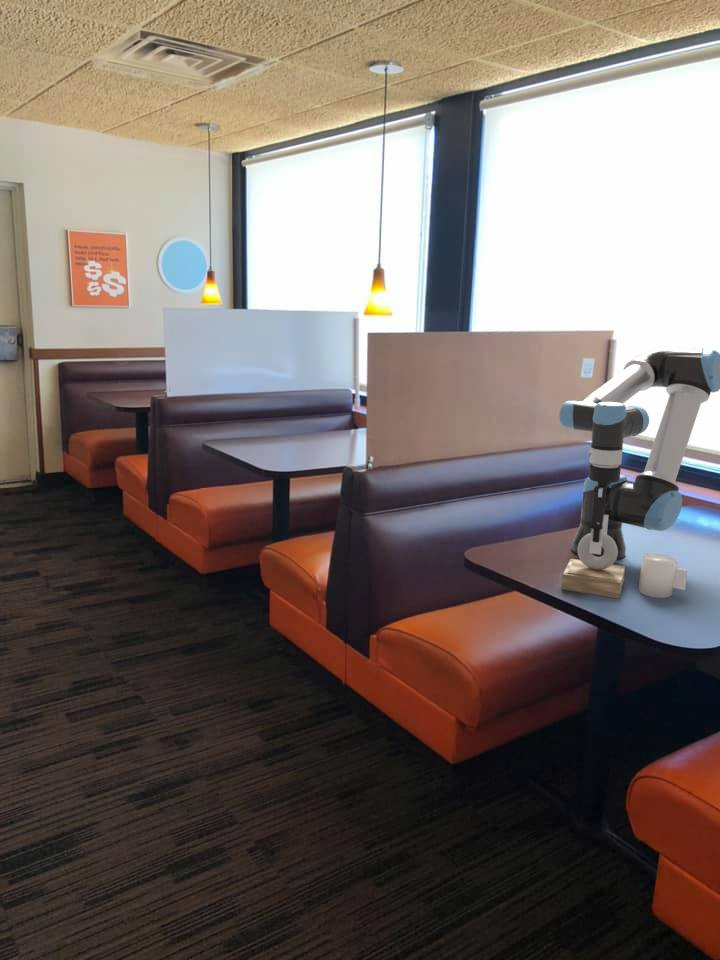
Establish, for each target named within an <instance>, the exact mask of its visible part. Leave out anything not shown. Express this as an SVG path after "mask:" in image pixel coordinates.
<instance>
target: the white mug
mask: <svg viewBox="0 0 720 960" xmlns="http://www.w3.org/2000/svg"><path fill="white" fill-rule="evenodd" d="M676 566H677V559H676V558H674V557H672V556H670V555H668V554H662V553H655V552H654V553H645V554H643V555H642V557H641V565H640V573H639V583H638V592H639V593H641V594H642V595H644V596H647V597H651V598H657V599H667V598H666V597H668V598H670V596H671V597H672V596H673V591H674V589H675V590H676V589H677V590H682V591H686V587H687V586H686V585H687V579H688V569H687V568H686V569H685V568H680V567H679V568H678V567H676Z"/></svg>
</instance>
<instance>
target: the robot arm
mask: <svg viewBox="0 0 720 960" xmlns="http://www.w3.org/2000/svg"><path fill="white" fill-rule="evenodd" d="M652 387H653V388H654V387H655V388H656V387H657V388H660V387H661V388H662V387H663V388H665V390H666V393H667V394H668V399H667V403H666V405H665V408H664V412H663V414H662V418H661V420H660V422H659V423H660V424H659V426H658V430H657V432H656V435H655V437H654V441H653V444H652V447H651V450H650V453H649V457H648V459H647V462H646V465H645V468H644V471H643V472H641V473H638V474H636V477H635V480H634V482H628V478H627V476H626V475H623V474H621V469H622V467H621V465H622V461H623V459H622V458H623V449H624V448H623V446H624V439H626V438H629V437H636V436H638V435H640V434H642V433H644V432H645V431H646V430H647V428H648V427H649V424H650V418H649V414H648V412H647V411H646V409H644V408H643V407H641V406H637V405H629V406H626V405H625V404H624V403H626V402H628V400H630V399H631V398H632V397H633V396H635V395H636V394H638V393H639V392H643V391H647V390H648V389H650V388H652ZM719 391H720V352H719V351H717V350H714V349H707V348H706V349H705V348H689V347H687V348H685V347H672V346H671V347H670V346H664V347H659V348H655V349H651V350H649V351H646V352H644V353H641V354H640V355H636V357H634V358H633V359H631V360H630V361H628V362H627V363H626V364H625V365H624V367H623V370H622V371H620V372H619V373H618V374H615V376H613V377H612V378H610V379H609V380H607V381H606V382H605V383H603V384H601V385H600V386H599V387H598V388H597V389H595V390H594V391H593V392H591V393H590V394H588V395H587V396H585V397H584V398H582V399H581V400H580V401H577V400H567V401H564V402H563V404H561V405H562V406H561V407H560V410H559V416H558V417H559V422H560V424H561V426H562V427H563V428H566V429H571V430H574V431H583V432H590V433H591V443H590V450H588V451H587V453H588V455H590V456H589V462H590V465H589V466H588V467H589V469H588V477H585V480H584V484H583V489H582V501H581V510H580V523H579V526H578V528H577V531H576V533H575V534H574V537H573V540H572V543H571V551H573V553H575V554H577V555H578V550H577V548H578V544H579V542H580V540H581V539H582V538H583V537H584V536H585V535H587V534H589V533H591V538H590V549H589V553H592V554H593V555H594V556H596V557H600V556H602V555H603V554H604V549H603V548H602V547H601V546H602V534H603V533H605V534H607V535H608V536H610V537H611V538H612V539H613V540H614V541H615V543H616V545H617V548H618V555H617V559H616V560H618V559H622V558H624V557H625V556H626V550H627V548H626V543H625V538H624V534H623V530H622V529H623V528H622V527H623V524H625V525H631V526H635V527H639V528H643V529H646V530H649V531H650V530H653V531H658V532H659V531H660V532H662V531H664V532H665V531H667V530H668V529H669V528H671V527H672V526H674V524H675V523H676V521H677V520H678V518H679V516H680V514H681V511H682V507H683V505H682V504H683V497H682V494H681V492H680V491H679V489H680V486H679V485H678V484H677V482H676V480H677V476H678V474H679V472H680V467H681V465H682V461H683V458H684V456H685V452H686V450H687V446H688V445H689V444H688V443H689V441H690V437H691V434H692V432H693V429H694V425H695V423H696V420H697V417H698V413H699V411H700V408H701V405H702V404H703V403H705V402H707V401H708V400H709V398H710V395H711V393H717V392H719Z"/></svg>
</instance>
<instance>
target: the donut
mask: <svg viewBox="0 0 720 960" xmlns="http://www.w3.org/2000/svg"><path fill="white" fill-rule="evenodd" d="M590 538H591V533H589V534H587V535H585V536H584V537H583V538H582V539H581V540H580V542H579V544H578V548H577V550H578V554H577V556H578V558H579V560H581V561H582V563H583V564H584V565H586V566H587V567H589V568H591V569H595V570H603V569H606V568H608V567H610V566H611V565H614V563H615V562H616V561H617V560H618V559H617V555H618V548H617V545H616V543H615V541H614V540H613V539H612V538H611V537H610V536H608V535H607V534H605V533H603V534H602V546H601V547H602V548H603V549H604V554H603V555H602V556H600V557H596V556H594V555H593V554H592V553H589V549H590Z"/></svg>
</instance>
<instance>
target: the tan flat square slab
mask: <svg viewBox="0 0 720 960" xmlns="http://www.w3.org/2000/svg"><path fill="white" fill-rule="evenodd" d="M625 574H626V566H624V565H619V564H618V565H617V564H613V565H611V566H610V567H608V568H606V569H603V570H595V569H591V568H589V567H587V566H586V565H584V564H583V563H582V561H581V560H580V559H576V558H570V560H569V562H568V563H567V565H566V567H565V569H564V571H563V573H562V578H561V579H562V580H561V590H563V591H571V592H578V593H584V594H590V595H596V596H602V597H609V598H615V599H620V597H621V592H622V589H623V585H624V582H625Z"/></svg>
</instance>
